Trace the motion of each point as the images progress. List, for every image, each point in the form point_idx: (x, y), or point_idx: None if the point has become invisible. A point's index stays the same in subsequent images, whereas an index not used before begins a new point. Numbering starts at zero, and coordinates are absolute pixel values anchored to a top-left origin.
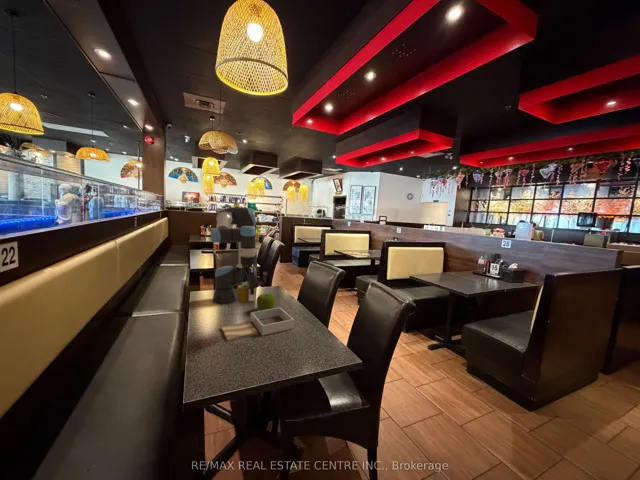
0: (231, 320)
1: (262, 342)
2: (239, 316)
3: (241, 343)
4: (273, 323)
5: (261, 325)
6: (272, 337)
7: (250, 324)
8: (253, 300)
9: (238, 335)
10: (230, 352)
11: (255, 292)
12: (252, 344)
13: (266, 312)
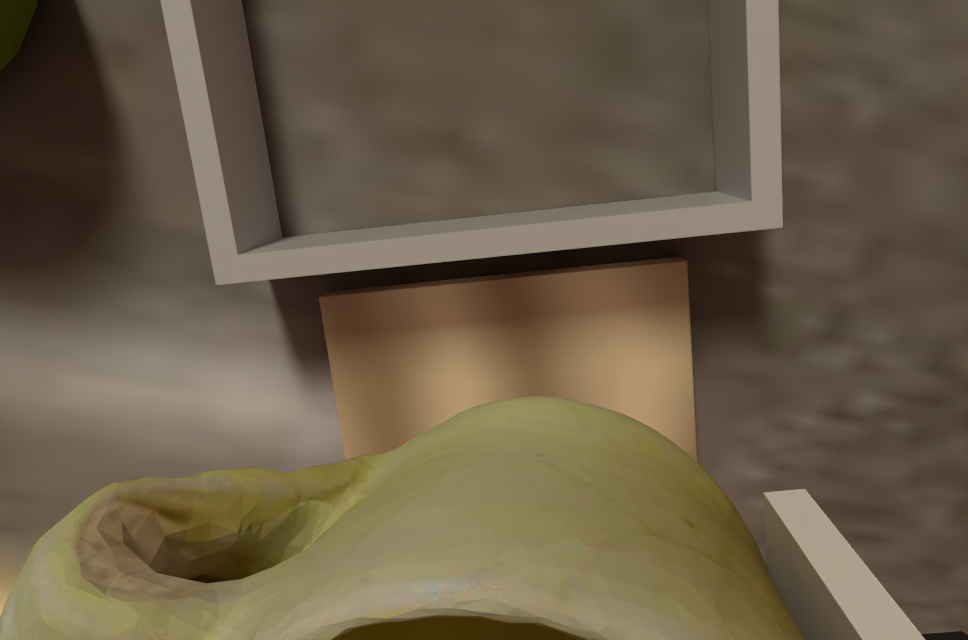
0: (184, 476)
1: (907, 249)
2: (85, 371)
3: (813, 463)
4: (764, 38)
5: (742, 231)
6: (846, 102)
7: (433, 304)
8: (711, 478)
9: None
10: (940, 584)
11: (622, 486)
12: (894, 362)
13: (210, 21)
